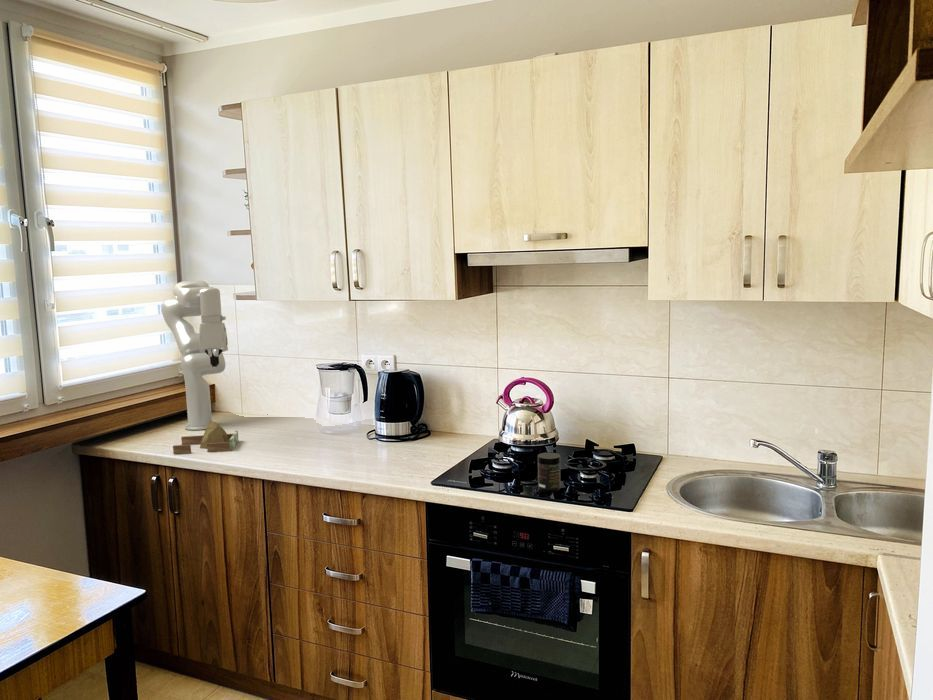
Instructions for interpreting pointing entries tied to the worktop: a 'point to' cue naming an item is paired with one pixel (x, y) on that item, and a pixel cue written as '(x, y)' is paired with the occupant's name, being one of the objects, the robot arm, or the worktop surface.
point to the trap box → (210, 446)
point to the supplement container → (549, 472)
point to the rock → (213, 435)
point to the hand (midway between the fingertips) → (215, 366)
